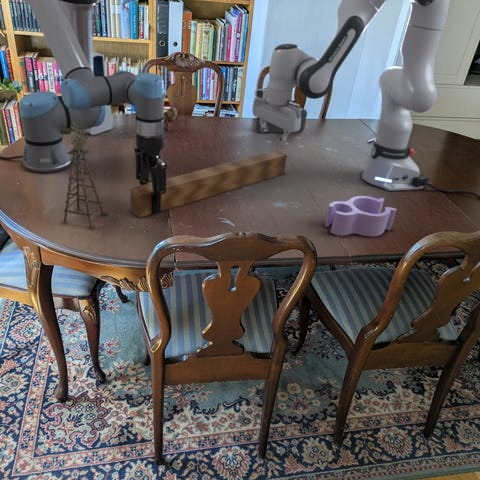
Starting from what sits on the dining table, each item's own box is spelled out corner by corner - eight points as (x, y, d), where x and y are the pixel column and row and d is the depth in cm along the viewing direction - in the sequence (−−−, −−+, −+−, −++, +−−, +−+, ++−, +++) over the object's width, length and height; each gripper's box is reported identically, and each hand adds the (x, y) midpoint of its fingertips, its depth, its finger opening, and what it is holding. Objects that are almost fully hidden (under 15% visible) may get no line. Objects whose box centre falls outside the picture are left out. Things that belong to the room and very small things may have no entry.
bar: (139, 217, 136) (139, 195, 132) (131, 210, 139) (130, 188, 135) (284, 173, 171) (287, 154, 167) (274, 168, 174) (277, 150, 170)
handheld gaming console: (301, 129, 213) (305, 108, 208) (304, 131, 211) (308, 110, 205) (254, 131, 206) (257, 108, 200) (257, 133, 204) (259, 110, 198)
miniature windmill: (90, 229, 128) (80, 122, 112) (62, 223, 129) (47, 117, 113) (105, 213, 136) (97, 111, 119) (78, 208, 137) (67, 106, 120)
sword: (405, 131, 224) (406, 128, 224) (410, 133, 222) (411, 130, 222) (362, 142, 208) (362, 140, 208) (367, 144, 206) (368, 142, 206)
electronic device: (90, 136, 184) (84, 56, 167) (77, 131, 187) (69, 52, 170) (113, 128, 193) (109, 52, 177) (100, 123, 196) (95, 48, 180)
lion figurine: (175, 126, 202) (175, 105, 197) (178, 130, 198) (178, 109, 193) (141, 127, 197) (140, 106, 192) (143, 131, 193) (143, 110, 188)
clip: (337, 240, 135) (342, 219, 131) (318, 218, 145) (322, 198, 141) (395, 233, 141) (402, 213, 137) (373, 213, 151) (378, 194, 147)
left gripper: (180, 142, 124) (178, 217, 137) (144, 121, 135) (145, 192, 148) (156, 147, 120) (156, 224, 132) (121, 125, 131) (124, 198, 143)
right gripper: (308, 104, 150) (301, 145, 157) (265, 87, 162) (260, 125, 170) (295, 106, 146) (288, 148, 154) (251, 89, 158) (247, 128, 166)
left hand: (151, 207), depth 140 cm, fingers closed on bar, 5 cm apart
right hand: (273, 136), depth 162 cm, fingers open, 8 cm apart
